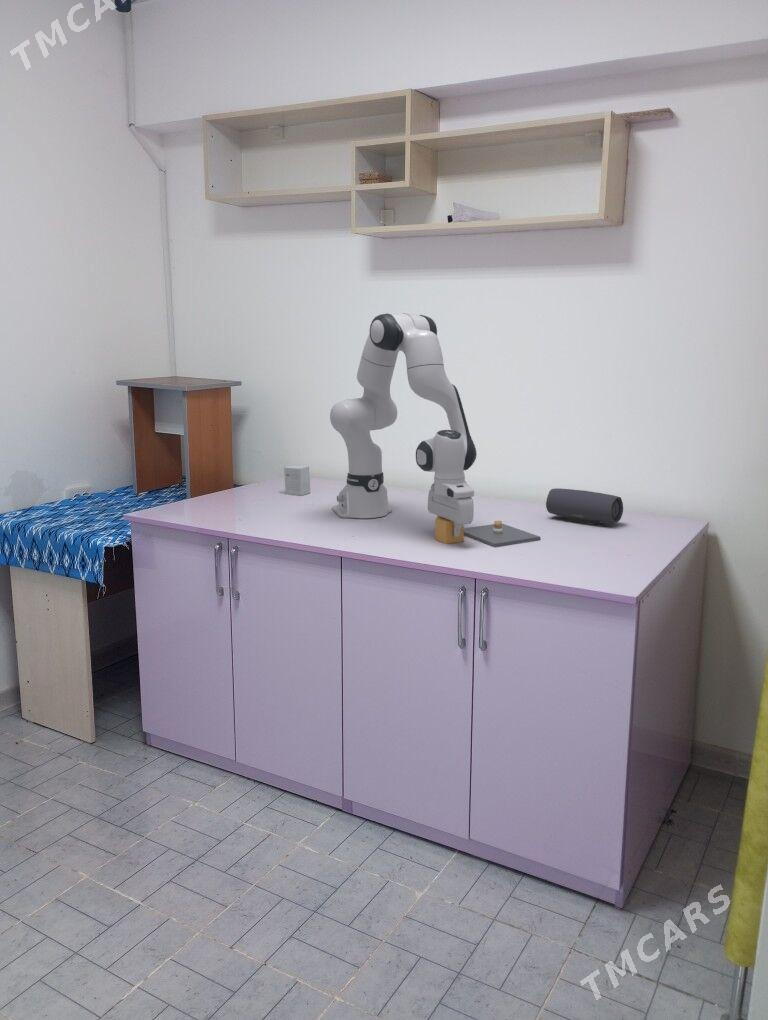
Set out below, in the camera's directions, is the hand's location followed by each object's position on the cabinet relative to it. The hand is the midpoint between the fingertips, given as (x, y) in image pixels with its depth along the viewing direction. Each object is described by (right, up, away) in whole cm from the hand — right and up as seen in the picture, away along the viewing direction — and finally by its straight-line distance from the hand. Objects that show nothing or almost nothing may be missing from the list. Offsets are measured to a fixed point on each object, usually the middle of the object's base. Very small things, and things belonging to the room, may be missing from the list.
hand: (449, 533), depth 243 cm
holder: (+15, -1, +4) cm, 15 cm away
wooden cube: (0, -2, 0) cm, 2 cm away
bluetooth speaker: (+44, +3, +21) cm, 49 cm away
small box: (-52, +13, +74) cm, 91 cm away
